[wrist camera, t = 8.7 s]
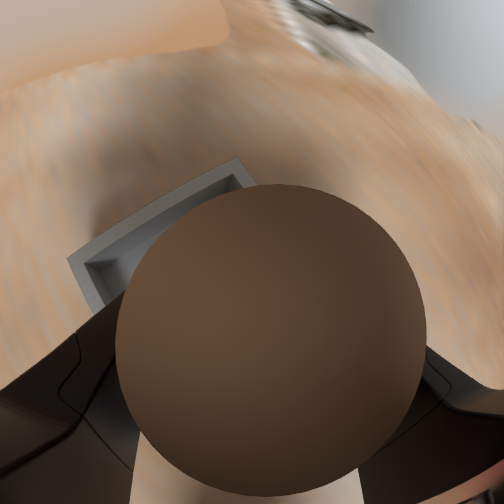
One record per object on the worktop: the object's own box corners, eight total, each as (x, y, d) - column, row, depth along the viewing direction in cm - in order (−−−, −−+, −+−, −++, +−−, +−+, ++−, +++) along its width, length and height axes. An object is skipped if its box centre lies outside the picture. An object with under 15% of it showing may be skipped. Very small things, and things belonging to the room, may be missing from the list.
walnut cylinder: (216, 391, 13) (254, 534, 3) (161, 314, 14) (56, 297, 3) (291, 338, 15) (456, 358, 4) (239, 263, 15) (322, 141, 5)
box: (222, 459, 14) (227, 485, 11) (89, 269, 16) (66, 258, 12) (352, 363, 17) (381, 370, 14) (230, 184, 19) (236, 156, 15)
